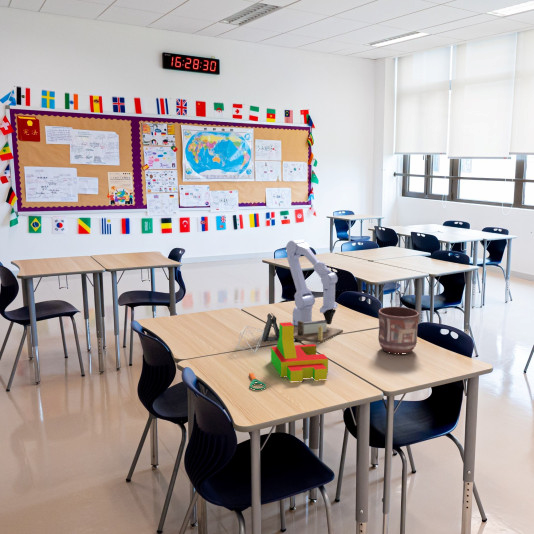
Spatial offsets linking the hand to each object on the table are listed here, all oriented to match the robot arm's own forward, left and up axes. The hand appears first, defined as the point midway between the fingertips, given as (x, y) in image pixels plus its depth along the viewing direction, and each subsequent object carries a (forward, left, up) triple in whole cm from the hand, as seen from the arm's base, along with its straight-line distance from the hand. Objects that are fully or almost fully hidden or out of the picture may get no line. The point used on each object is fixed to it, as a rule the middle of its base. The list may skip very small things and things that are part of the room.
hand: (328, 323), depth 282 cm
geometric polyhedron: (-15, -45, -4) cm, 48 cm away
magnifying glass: (+11, -77, -4) cm, 78 cm away
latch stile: (+6, -19, -2) cm, 20 cm away
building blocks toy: (+17, -55, -4) cm, 58 cm away
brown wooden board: (-1, -9, -3) cm, 10 cm away
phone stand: (-15, -28, -4) cm, 32 cm away
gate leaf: (-2, -11, -2) cm, 11 cm away
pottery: (+40, -10, -4) cm, 41 cm away
